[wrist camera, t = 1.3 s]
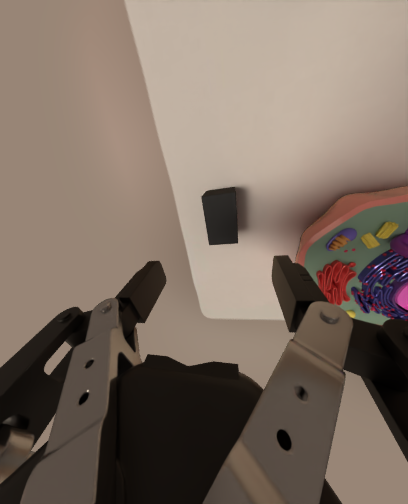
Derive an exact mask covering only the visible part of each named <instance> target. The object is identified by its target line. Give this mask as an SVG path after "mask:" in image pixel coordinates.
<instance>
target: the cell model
mask: <svg viewBox="0 0 408 504" xmlns="http://www.w3.org/2000/svg"><path fill="white" fill-rule="evenodd" d="M295 263H299V264H300V265H302V266H303V267H305V268H306V270H307V271H308V272H309V274H310V276H311V277H312V278H313V280H314V281H315V282H316V284H317V285H318V287H319V288H320V290H321V291H322V292H323V294H324V295H325V297H326V298H327V300H328V301H329V302H330V303H331V304H334V305H336V306H338V307H340V308H342V309H343V310H344V311H346V312H347V313H348V314H349V315H350V317H352V318H354V319H358V320H362V321H365V322H369V323H373V324H377V325H381V326H382V325H383V323H384V322H385V321H386V320H389V319H402V320H406V321H408V186H403V187H398V188H393V189H387V190H382V191H376V192H370V193H358V194H349V195H346V196H343V197H341V198H340V199H339V200H338V201H336V202H335V203H334V204H333V205H332V207H331V208H330V209H329V210H328V211H327V212H326V213H325V214H324V215H322V216H321V217H320V218H319V219H318V220H316V221H315V222H314V223H313V224H311V225H310V226H309V227H308V228H307V229H306V230H305V231H304V232H303V234H302V236H301V238H300V246H299V249H298V252H297V255H296V260H295Z"/></svg>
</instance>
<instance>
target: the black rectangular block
mask: <svg viewBox="0 0 408 504" xmlns="http://www.w3.org/2000/svg"><path fill="white" fill-rule="evenodd" d="M202 203H203V210H204V216H205V222H206V228H207V234H208V241H209V245H219V244H234V243H238V229H237V208H236V191H235V187H230V188H223V189H217V190H210V191H206V192H205V193H204V195H203V196H202Z"/></svg>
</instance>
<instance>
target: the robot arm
mask: <svg viewBox="0 0 408 504" xmlns="http://www.w3.org/2000/svg"><path fill="white" fill-rule="evenodd" d="M272 282H273V286H274V289H275V292H276V295H277V298H278V301H279V304H280V306H281V309H282V312H283V315H284V318H285V321H286V324H287V327H288V330H289V332H295V335H294V337H293V339H291V340H290V341H289V342H288V344H287V346H286V348H285V350H284V352H283V354H282V356H281V358H280V360H279V362H278V364H277V366H276V367H275V369H274V371H273V373H272V375H271V377H270V379H269V381H268V383H267V385H266V387H265V389H264V390H263V389H262V388H261V387H260V386H259V385H258V384H257V383H256V382H255V381H253V380H252V379H251V378H249V377H248V376H246V375H245V374H242V373H240V372H239V370H238V364H232V363H222V362H208V363H203V364H198V365H193V366H186V365H184V364H182V363H180V362H178V361H176V360H174V359H172V358H170V357H167V356H159V355H149V354H148V355H147V357H146V359H145V362H143V363H142V361H141V358H140V354H139V345H138V336H137V329H136V327H135V325H136V324H137V323H145V321H146V319H147V318H148V316H149V314H150V312H151V310H152V308H153V307H154V305H155V303H156V301H157V299H158V297H159V295H160V294H161V292H162V290H163V288H164V286H165V284H166V276H165V273H164V270H163V268H162V265H161V263H160V261H149V262H147V264H146V265H145V266H144V267H143V268H142V269H141V270H139V271H138V272H137V273H136V274H135V275H134V276H133V277H132V279H131V280H130V281H129V283H127V284H126V285H125V286H124V288H123V289H122V290H121V291H120V292H119V294H118V295H117V296H116V297H115V298H110V299H107V300H104V301H103V302H101V303H99V304H98V305H97V306H96V307H95V308H94V309H93V310H91V311H87V312H82V311H81V310H80V309H79V308H78V307H72V308H69V309H67V310H65V311H63V312H61V313H60V314H58V315H57V316H56V317H55V318H54V319H53V320H52V321H51V322H49V323H48V324H47V325H46V326H45V327H44V328H43V329H42V330H41V331H40V332H39V333H38V334H36V335H35V336H34V337H33V338H32V339H31V340H30V341H29V342H28V343H27V344H26V345H25V346H24V347H22V348H21V349H20V350H19V351H18V352H17V353H16V354H15V355H14V356H13V357H12V358H11V359H9V361H7V362H6V363H5V364H4V365H3V366H2V367H1V368H0V504H342V503H341V501H340V500H339V498H338V497H337V495H336V494H335V493H334V491H333V489H332V488H331V486H330V485H329V483H328V482H327V481H326V479H325V474H326V469H327V464H328V459H329V455H330V450H331V445H332V440H333V435H334V431H335V426H336V422H337V417H338V412H339V407H340V403H341V398H342V393H343V389H344V384H345V372H343V369H344V370H346V371H349V372H352V373H354V374H357V375H359V376H361V378H362V379H363V381H364V383H365V385H366V387H367V389H368V390H369V392H370V394H371V396H372V398H373V399H374V401H375V403H376V405H377V407H378V409H379V410H380V412H381V414H382V416H383V417H384V420H385V421H386V423H387V425H388V427H389V429H390V430H391V432H392V434H393V436H394V438H395V440H396V441H397V443H398V445H399V447H400V449H401V451H402V452H403V454H404V456H405V458H406V460H407V461H408V321H406V320H402V319H389V320H386V321H385V322H384V323H383V325H382V326H381V325H377V324H373V323H369V322H365V321H362V320H358V319H354V318H352V317H350V315H349V314H348V313H347V312H346V311H344V310H343V309H342V308H340V307H338V306H336V305H334V304H331V303H330V302H329V301H328V300H327V298H326V297H325V295H324V294H323V292H322V291H321V290H320V288H319V287H318V285H317V284H316V282H315V281H314V280H313V278H312V277H311V276H310V274H309V272H308V271H307V270H306V268H305V267H303V266H302V265H300V264H299V263H292V261H291V260H290V258H289V256H288V255H283V256H274V258H273V268H272ZM64 341H66V342H67V343H68V344H69V345H70V346H71V347H72V348H71V349H70V351H69V352H68V353H67V354H66V355H65V357H64V358H63V359H62V360H61V362H60V363H59V364H58V365H57V367H56V368H55V369H54V370H53V372H52V373H51V374H50V375H47V374H46V373H45V372H44V366H45V364H46V362H47V361H48V360H49V359H50V358H51V356H52V355H53V354H54V353H55V352H56V350H58V348H59V347H60V346H61V345H62V344H63V343H64ZM55 413H56V415H55ZM54 415H55V418H54V422H53V426H52V430H51V433H50V437H49V440H48V441H47V442H46V443H45V444H44V445H43V446H42V447H41V448H40V449H38V451H36V452H33V451H31V450H32V448H33V447H34V445H35V443H36V442H37V440H38V439H39V437H40V436H41V434H42V433H43V431H44V430H45V428H46V427H47V425H48V424H49V422H50V421H51V419H52V418H53V416H54Z"/></svg>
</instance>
